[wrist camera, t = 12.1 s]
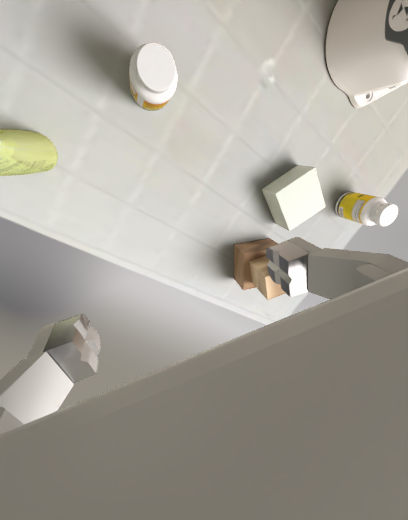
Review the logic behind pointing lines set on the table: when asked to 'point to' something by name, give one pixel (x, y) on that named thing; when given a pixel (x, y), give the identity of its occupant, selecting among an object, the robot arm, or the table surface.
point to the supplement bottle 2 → (366, 209)
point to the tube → (25, 152)
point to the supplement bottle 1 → (152, 76)
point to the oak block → (264, 278)
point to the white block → (294, 196)
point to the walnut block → (246, 254)
